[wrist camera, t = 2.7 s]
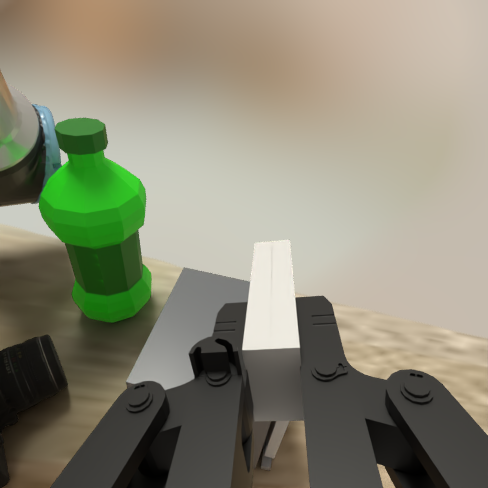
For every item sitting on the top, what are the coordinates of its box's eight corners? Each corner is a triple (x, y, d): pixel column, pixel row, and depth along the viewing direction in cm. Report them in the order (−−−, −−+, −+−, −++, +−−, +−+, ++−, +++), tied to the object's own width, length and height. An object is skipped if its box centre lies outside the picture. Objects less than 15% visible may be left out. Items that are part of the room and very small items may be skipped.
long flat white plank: (264, 455, 34) (302, 346, 22) (271, 406, 38) (307, 290, 26) (274, 458, 34) (318, 350, 22) (280, 408, 38) (320, 293, 26)
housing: (138, 437, 35) (125, 381, 28) (190, 314, 47) (190, 254, 40) (269, 473, 34) (289, 423, 27) (286, 336, 46) (304, 278, 39)
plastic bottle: (97, 274, 51) (55, 101, 36) (166, 285, 51) (155, 116, 35) (60, 328, 44) (-15, 139, 28) (141, 343, 43) (112, 158, 27)
